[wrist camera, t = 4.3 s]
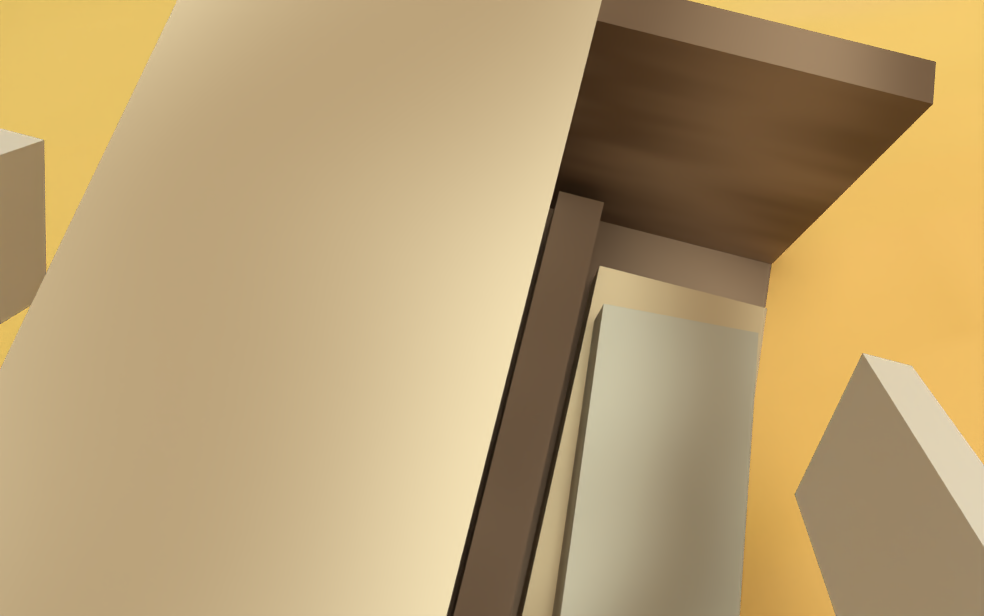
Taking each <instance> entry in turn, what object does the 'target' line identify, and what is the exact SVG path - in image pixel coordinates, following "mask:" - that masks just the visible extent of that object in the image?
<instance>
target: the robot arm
mask: <svg viewBox="0 0 984 616" xmlns="http://www.w3.org/2000/svg"><path fill="white" fill-rule="evenodd" d="M45 275H46V231H45V163H44V140H43V139H39V138H35V137H31V136H27V135H23V134H19V133H16V132H12V131H8V130H4V129H0V324H1V323H3V322H4V321H6V320H8V319H9V318H11V317H13V316H14V315H16V314H17V313H19V312H21V311H22V310H24V309H25V308H27V307H29V306H30V305H31V304H32V302H33V300H34V298H35V296H36V294H37V291H38V289H39V287H40V285H41V283H42V281H43V279H44V277H45ZM795 497H796V500H797V503H798V506H799V509H800V512H801V515H802V517H803V520H804V523H805V526H806V529H807V532H808V535H809V538H810V541H811V544H812V547H813V550H814V553H815V556H816V559H817V562H818V565H819V567H820V570H821V573H822V576H823V579H824V582H825V585H826V588H827V591H828V594H829V597H830V600H831V603H832V606H833V609H834V612H835V615H836V616H984V465H983V463H982V462H981V461H980V459H979V458H978V457H977V455H976V454H975V452H974V451H973V450H972V448H971V447H970V445H969V444H968V443H967V441H966V440H965V439H964V437H963V436H962V434H961V433H960V432H959V430H958V429H957V428H956V426H955V425H954V423H953V422H952V421H951V419H950V418H949V416H948V415H947V414H946V412H945V411H944V410H943V408H942V407H941V405H940V404H939V403H938V401H937V400H936V399H935V397H934V396H933V394H932V393H931V392H930V390H929V389H928V388H927V386H926V385H925V383H924V382H923V381H922V379H921V378H920V376H919V375H918V374H917V372H916V371H915V370H914V368H913V367H912V366H910V365H906V364H902V363H899V362H895V361H891V360H887V359H883V358H879V357H876V356H872V355H868V354H864V353H863V354H862V356H861V358H860V360H859V362H858V364H857V366H856V368H855V370H854V372H853V374H852V376H851V378H850V381H849V383H848V385H847V387H846V389H845V391H844V393H843V395H842V397H841V399H840V401H839V403H838V405H837V408H836V410H835V412H834V414H833V416H832V418H831V420H830V422H829V424H828V426H827V428H826V430H825V432H824V435H823V437H822V439H821V441H820V443H819V445H818V447H817V449H816V451H815V453H814V455H813V457H812V459H811V462H810V464H809V466H808V468H807V470H806V472H805V474H804V476H803V478H802V480H801V482H800V484H799V486H798V489H797V491H796V493H795Z"/></svg>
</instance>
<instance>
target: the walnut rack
mask: <svg viewBox="0 0 984 616" xmlns="http://www.w3.org/2000/svg"><path fill="white" fill-rule="evenodd" d="M935 66H936V62H934V61H930V60H926V59H922V58H918V57H914V56H910V55H906V54H902V53H898V52H894V51H890V50H886V49H882V48H878V47H874V46H870V45H866V44H862V43H858V42H853V41H849V40H845V39H841V38H837V37H833V36H829V35H825V34H821V33H817V32H813V31H809V30H805V29H801V28H797V27H793V26H789V25H785V24H781V23H777V22H773V21H769V20H764V19H760V18H756V17H752V16H748V15H744V14H740V13H736V12H732V11H728V10H724V9H720V8H716V7H712V6H708V5H704V4H700V3H696V2H692V1H688V0H602V1H601V5H600V9H599V13H598V17H597V21H596V25H595V29H594V33H593V37H592V41H591V45H590V49H589V53H588V57H587V61H586V65H585V69H584V73H583V77H582V81H581V85H580V89H579V93H578V97H577V101H576V104H575V108H574V112H573V116H572V120H571V124H570V128H569V132H568V136H567V140H566V144H565V148H564V152H563V156H562V160H561V164H560V168H559V172H558V176H557V180H556V184H555V188H554V192H553V196H552V200H551V204H550V208H549V212H548V215H547V219H546V223H545V227H544V231H543V235H542V239H541V243H540V247H539V251H538V255H537V259H536V263H535V267H534V271H533V275H532V279H531V283H530V287H529V291H528V295H527V299H526V303H525V307H524V311H523V315H522V319H521V323H520V326H519V330H518V334H517V338H516V342H515V346H514V350H513V354H512V358H511V362H510V366H509V370H508V374H507V378H506V382H505V386H504V390H503V394H502V398H501V402H500V406H499V410H498V414H497V418H496V422H495V426H494V430H493V434H492V437H491V441H490V445H489V449H488V453H487V457H486V461H485V465H484V469H483V473H482V477H481V481H480V485H479V489H478V493H477V497H476V501H475V505H474V509H473V513H472V517H471V521H470V525H469V529H468V533H467V537H466V541H465V544H464V548H463V552H462V556H461V560H460V564H459V568H458V572H457V576H456V580H455V584H454V588H453V592H452V596H451V600H450V604H449V608H448V612H447V616H517V611H518V607H519V602H520V598H521V593H522V589H523V585H524V580H525V576H526V571H527V567H528V562H529V558H530V553H531V549H532V544H533V540H534V535H535V531H536V526H537V522H538V518H539V513H540V509H541V504H542V500H543V495H544V491H545V486H546V482H547V477H548V473H549V468H550V464H551V460H552V455H553V451H554V446H555V442H556V437H557V433H558V428H559V424H560V419H561V415H562V410H563V406H564V401H565V397H566V393H567V388H568V384H569V379H570V375H571V370H572V366H573V361H574V357H575V352H576V348H577V343H578V339H579V335H580V330H581V326H582V321H583V317H584V312H585V308H586V303H587V299H588V294H589V290H590V285H591V282H592V280H593V278H594V276H595V274H596V272H597V270H598V268H599V266H603V267H607V268H611V269H615V270H619V271H623V272H626V273H630V274H634V275H638V276H642V277H646V278H650V279H654V280H658V281H662V282H666V283H669V284H673V285H677V286H681V287H685V288H689V289H693V290H697V291H701V292H705V293H709V294H712V295H716V296H720V297H724V298H728V299H732V300H736V301H740V302H744V303H748V304H752V305H755V306H759V307H763V308H765V306H766V299H767V292H768V285H769V278H770V271H771V264H772V263H773V262H774V261H775V260H776V259H777V258H778V257H779V256H780V255H781V254H782V253H783V252H784V251H785V250H786V249H787V248H788V247H789V246H790V245H791V244H792V243H793V242H794V241H795V240H796V239H797V238H798V237H799V236H800V235H801V234H802V233H803V232H804V231H805V230H806V229H807V228H808V227H809V226H811V225H812V224H813V223H814V222H815V221H816V220H817V219H818V218H819V217H820V216H821V215H822V214H823V213H824V212H825V211H826V210H827V209H828V208H829V207H830V206H831V205H832V204H833V203H834V202H835V201H836V200H837V199H838V198H839V197H840V196H841V195H842V194H843V193H844V192H845V191H846V190H847V189H848V188H849V187H850V186H851V185H852V184H853V183H854V182H855V181H856V180H857V179H858V178H859V177H860V176H861V175H862V174H863V173H864V172H865V171H866V170H867V169H868V168H869V167H870V166H871V165H872V164H873V163H874V162H875V161H876V160H877V159H878V158H879V157H880V156H881V155H882V154H883V153H884V152H885V151H886V150H887V149H888V148H889V147H890V146H891V145H892V144H893V143H894V142H895V141H896V140H897V139H898V138H899V137H900V136H901V135H902V134H903V133H904V132H905V131H906V130H907V129H908V128H909V127H910V126H911V125H912V124H913V123H914V122H915V121H916V120H917V119H918V118H919V117H920V116H921V115H922V114H923V113H924V112H925V111H926V110H927V109H928V108H929V107H930V106H931V105H932V104H933V95H934V81H935Z"/></svg>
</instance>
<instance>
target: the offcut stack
mask: <svg viewBox="0 0 984 616" xmlns="http://www.w3.org/2000/svg"><path fill="white" fill-rule="evenodd" d="M766 311H767V308H763V307H759V306H755V305H752V304H748V303H744V302H740V301H736V300H732V299H728V298H724V297H720V296H716V295H712V294H709V293H705V292H701V291H697V290H693V289H689V288H685V287H681V286H677V285H673V284H669V283H666V282H662V281H658V280H654V279H650V278H646V277H642V276H638V275H634V274H630V273H626V272H623V271H619V270H615V269H611V268H607V267H603V266H599V268H598V270H597V272H596V274H595V276H594V278H593V280H592V282H591V285H590V290H589V294H588V299H587V303H586V308H585V312H584V317H583V321H582V326H581V330H580V335H579V339H578V343H577V348H576V352H575V357H574V361H573V366H572V370H571V375H570V379H569V384H568V388H567V393H566V397H565V401H564V406H563V410H562V415H561V419H560V424H559V428H558V433H557V437H556V442H555V446H554V451H553V455H552V460H551V464H550V468H549V473H548V477H547V482H546V486H545V491H544V495H543V500H542V504H541V509H540V513H539V518H538V522H537V526H536V531H535V535H534V540H533V544H532V549H531V553H530V558H529V562H528V567H527V571H526V576H525V580H524V585H523V589H522V593H521V598H520V602H519V607H518V611H517V616H740V602H741V587H742V572H743V557H744V542H745V527H746V512H747V498H748V483H749V468H750V453H751V438H752V423H753V408H754V397H755V389H756V382H757V375H758V368H759V361H760V354H761V347H762V340H763V332H764V325H765V318H766Z"/></svg>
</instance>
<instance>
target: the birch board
mask: <svg viewBox="0 0 984 616" xmlns="http://www.w3.org/2000/svg"><path fill="white" fill-rule="evenodd" d="M601 1H602V0H177V2H176V4H175V6H174V8H173V10H172V12H171V15H170V17H169V19H168V21H167V23H166V25H165V27H164V29H163V31H162V33H161V35H160V37H159V39H158V42H157V44H156V46H155V48H154V50H153V52H152V54H151V56H150V58H149V60H148V62H147V64H146V67H145V69H144V71H143V73H142V75H141V77H140V79H139V81H138V83H137V85H136V87H135V89H134V92H133V94H132V96H131V98H130V100H129V102H128V104H127V106H126V108H125V110H124V112H123V114H122V117H121V119H120V121H119V123H118V125H117V127H116V129H115V131H114V133H113V135H112V137H111V139H110V142H109V144H108V146H107V148H106V150H105V152H104V154H103V156H102V158H101V160H100V162H99V164H98V167H97V169H96V171H95V173H94V175H93V177H92V179H91V181H90V183H89V185H88V187H87V189H86V192H85V194H84V196H83V198H82V200H81V202H80V204H79V206H78V208H77V210H76V212H75V214H74V217H73V219H72V221H71V223H70V225H69V227H68V229H67V231H66V233H65V235H64V237H63V239H62V242H61V244H60V246H59V248H58V250H57V252H56V254H55V256H54V258H53V260H52V262H51V264H50V266H49V269H48V271H47V273H46V275H45V277H44V279H43V281H42V283H41V285H40V287H39V289H38V291H37V294H36V296H35V298H34V300H33V302H32V304H31V306H30V308H29V310H28V312H27V314H26V316H25V319H24V321H23V323H22V325H21V327H20V329H19V331H18V333H17V335H16V337H15V339H14V341H13V344H12V346H11V348H10V350H9V352H8V354H7V356H6V358H5V360H4V362H3V364H2V366H1V369H0V616H447V612H448V608H449V604H450V600H451V596H452V592H453V588H454V584H455V580H456V576H457V572H458V568H459V564H460V560H461V556H462V552H463V548H464V544H465V541H466V537H467V533H468V529H469V525H470V521H471V517H472V513H473V509H474V505H475V501H476V497H477V493H478V489H479V485H480V481H481V477H482V473H483V469H484V465H485V461H486V457H487V453H488V449H489V445H490V441H491V437H492V434H493V430H494V426H495V422H496V418H497V414H498V410H499V406H500V402H501V398H502V394H503V390H504V386H505V382H506V378H507V374H508V370H509V366H510V362H511V358H512V354H513V350H514V346H515V342H516V338H517V334H518V330H519V326H520V323H521V319H522V315H523V311H524V307H525V303H526V299H527V295H528V291H529V287H530V283H531V279H532V275H533V271H534V267H535V263H536V259H537V255H538V251H539V247H540V243H541V239H542V235H543V231H544V227H545V223H546V219H547V215H548V212H549V208H550V204H551V200H552V196H553V192H554V188H555V184H556V180H557V176H558V172H559V168H560V164H561V160H562V156H563V152H564V148H565V144H566V140H567V136H568V132H569V128H570V124H571V120H572V116H573V112H574V108H575V104H576V101H577V97H578V93H579V89H580V85H581V81H582V77H583V73H584V69H585V65H586V61H587V57H588V53H589V49H590V45H591V41H592V37H593V33H594V29H595V25H596V21H597V17H598V13H599V9H600V5H601Z"/></svg>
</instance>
